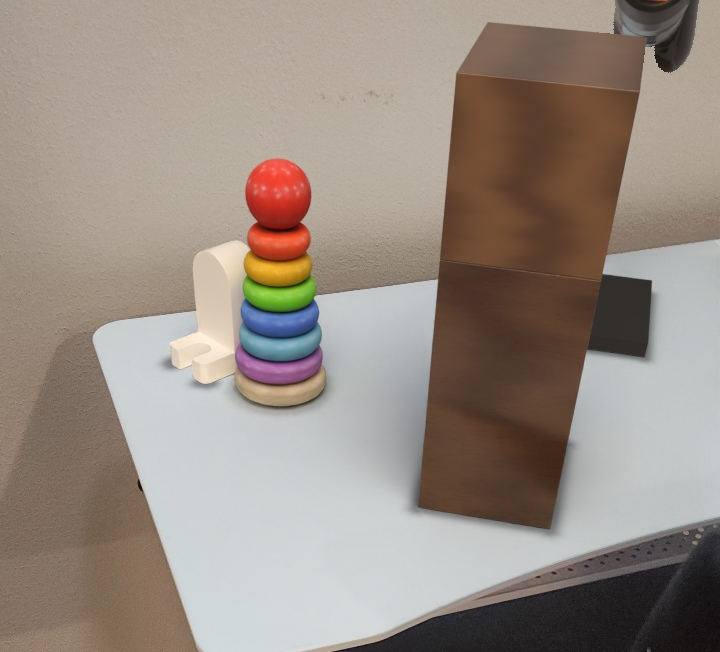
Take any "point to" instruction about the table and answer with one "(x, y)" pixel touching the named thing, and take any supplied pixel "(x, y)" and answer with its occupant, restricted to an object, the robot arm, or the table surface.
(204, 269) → the cable organizer
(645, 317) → the rubber mat
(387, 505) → the table surface
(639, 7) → the robot arm
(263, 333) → the stacking toy
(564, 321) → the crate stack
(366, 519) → the table surface
